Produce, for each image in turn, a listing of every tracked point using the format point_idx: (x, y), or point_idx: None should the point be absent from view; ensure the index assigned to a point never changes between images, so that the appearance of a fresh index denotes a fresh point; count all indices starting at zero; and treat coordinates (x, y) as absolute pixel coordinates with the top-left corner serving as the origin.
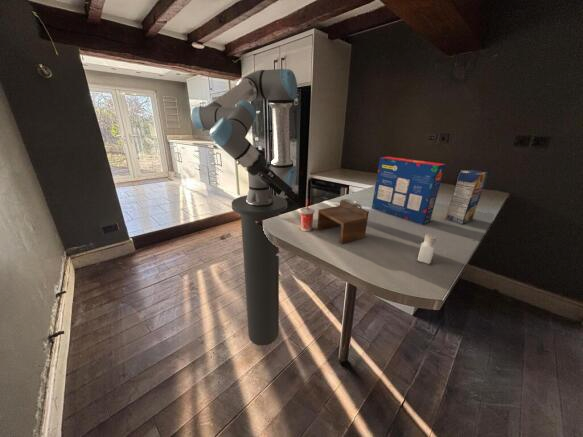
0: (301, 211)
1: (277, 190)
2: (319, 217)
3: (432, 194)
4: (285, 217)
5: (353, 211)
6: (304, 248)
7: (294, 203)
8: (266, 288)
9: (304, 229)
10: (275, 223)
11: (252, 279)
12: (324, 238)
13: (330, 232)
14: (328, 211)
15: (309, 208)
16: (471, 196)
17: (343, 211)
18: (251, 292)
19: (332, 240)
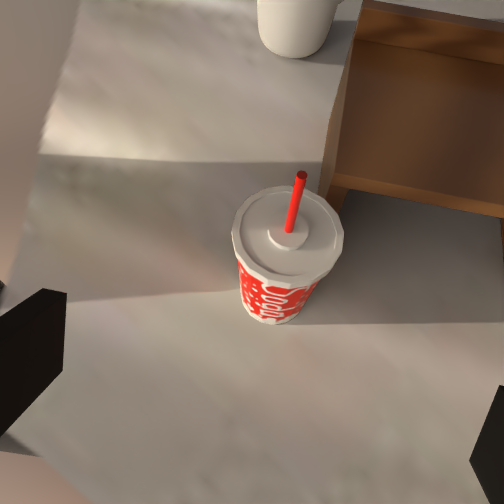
0: (278, 281)
1: (26, 378)
2: (340, 206)
3: None
4: (48, 267)
5: (478, 59)
6: (469, 496)
7: (475, 470)
8: None
9: (288, 319)
10: (63, 388)
11: (1, 438)
12: (425, 305)
13: (386, 228)
14: (397, 150)
15: (267, 194)
16: None
17: (445, 91)
18: (20, 447)
19: (466, 291)
